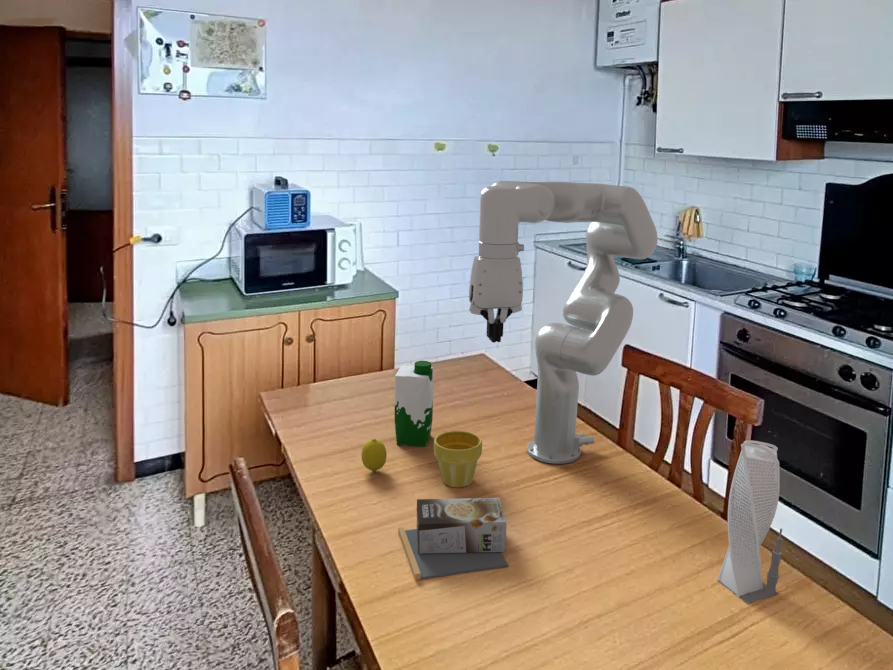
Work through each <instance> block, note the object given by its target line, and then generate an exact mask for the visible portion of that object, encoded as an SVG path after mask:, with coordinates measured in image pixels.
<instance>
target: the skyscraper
mask: <svg viewBox="0 0 893 670" xmlns="http://www.w3.org/2000/svg"><path fill="white" fill-rule="evenodd" d="M740 447H741V449H740V450H741V451H740V454H739V456H738V460H737V463H736V466H735V470H734V471H733V472H734V473H733V477H732V481H731V485H730V490H729V496H728V504H727V505H728V506H727V537H728V547H727V550H726V553H725V556H724V559H723V561H722V564H721V567H720V570H719V573H718V575H717V578H716V581H717V582H719V584H721V585H722V586H724V588H726V589H727V590H728V589H729V590H728V591H730V592H731V591H732V592H733V593H732V592H731V593H732V594H734V595H735V596H736V595H737V596H738V599H740V600H741V599H742V600H743V601H742V600H741V601H742V602H744V603H745V604H746V603H747V604H746V605H750V604H753V603H756V602H758V600H759V601H761V600H765V599H768V598H771V597H774V596H776V595H777V596H778V595H779V592H777V588H776V587H777V585H778V581H779V577H780V575H779V567H780V564H781V563H780V562H781V559H782V556H783V553H782V551H781V547H782V546H781V545H782V542H783V538H782V533H783V528H779V533H778V536H777V537H776V545H775V549H772V551H771V559H770V567H769V570H768V572H767V575H766V576H767V577H766V579H767V580H766V583H765V582H764V581H763V572H762V562H761V561H762V560H761V550H760V549H761V546H762V543H763V542H764V540H765V538H766V536H767V534H768V533H769V530H770V529H771V526H772V524H773V521H774V519H775V516H776V512H777V509H778V505H779V498H780V485H781V484H780V482H781V478H780V477H781V476H780V475H781V474H780V473H781V471H780V461H779V459H778V453H777V452H778V450H779V449H778V447H777V446H776V445H775V444H772V443H769V442H763V441H759V440H754V439H753V440H750V439H748V440H744V441H743V443H740ZM737 596H736V597H737ZM755 601H756V602H755ZM752 602H753V603H752ZM749 603H750V604H749Z"/></svg>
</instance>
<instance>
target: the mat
mask: <svg viewBox="0 0 893 670" xmlns="http://www.w3.org/2000/svg"><path fill="white" fill-rule="evenodd" d="M397 529H398V532H397V533H398V536H399V540H400V541H401V546H402V547H403V550H404V553H405V556H406V559H407V561H408V562H407V563H409V566H410V570H411V572H412V576H413V578H414V581H417V580H418V581H419V580H425V579H432V578H439V577H446V576H451V575H452V576H453V575H458V574H459V575H460V574H467V573H474V572H475V573H476V572H480V571H481V572H482V571H488V570H494V569H501V568H508V567H509V564H508V561H507V559H506V558H505V556H504V554H503V552H477V553H431V554H418V542H417V528H413V529H405V527H404V526H399V527H397Z"/></svg>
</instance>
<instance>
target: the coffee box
mask: <svg viewBox="0 0 893 670" xmlns="http://www.w3.org/2000/svg"><path fill="white" fill-rule="evenodd" d="M506 520H507V519H506V517H505V513H504V510H503V505H502V502H501V498H500V497H475V498H473V497H472V498H471V497H470V498H425V499H424V498H423V499H422V498H421V499H419V498H417V499H416V529H417V542H418V554H431V553H477V552H501V553H505V552H506V541H507V538H506V537H507V521H506Z"/></svg>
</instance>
